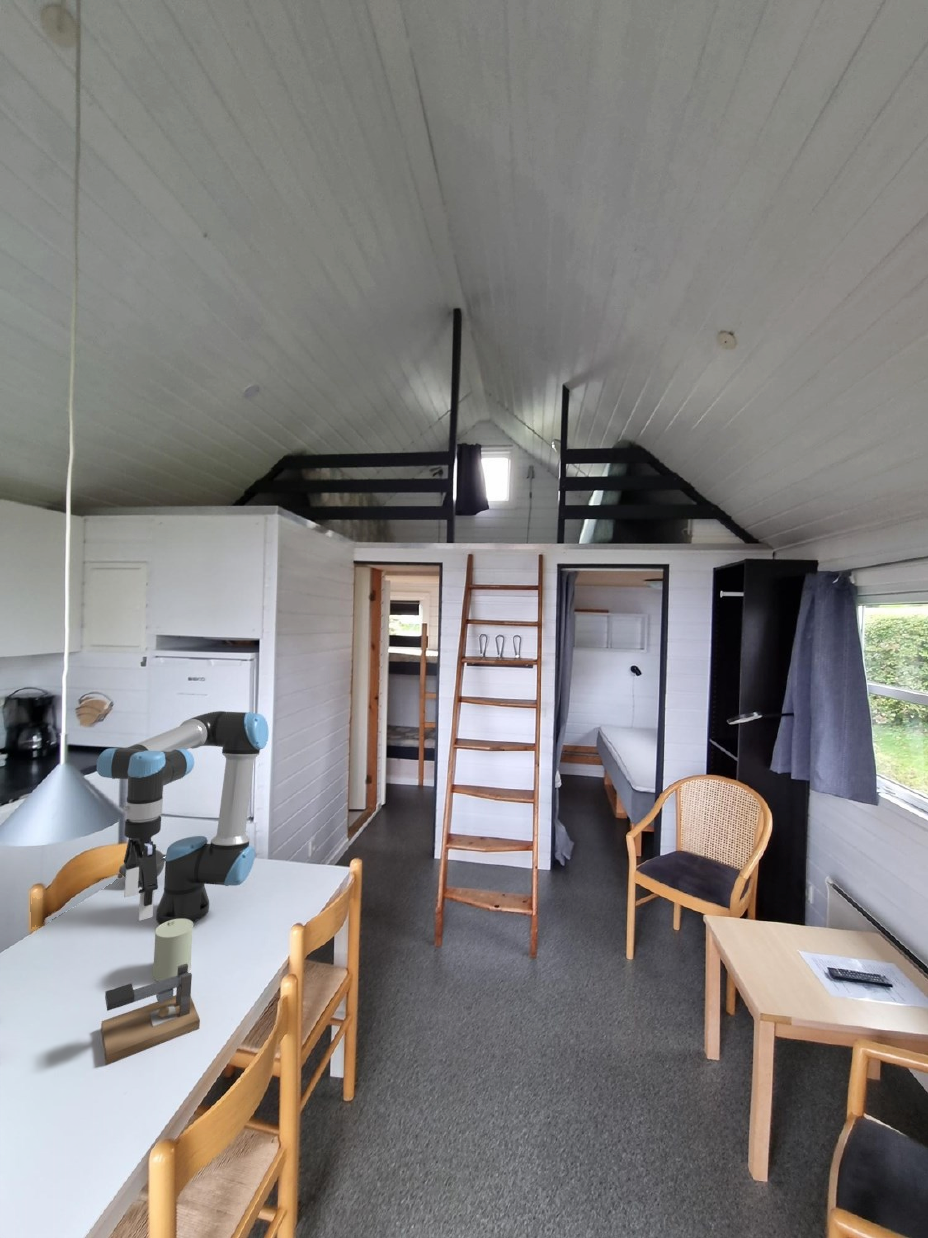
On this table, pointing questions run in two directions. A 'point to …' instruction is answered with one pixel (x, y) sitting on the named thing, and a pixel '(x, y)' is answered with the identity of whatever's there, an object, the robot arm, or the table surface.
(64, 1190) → the table surface
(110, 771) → the robot arm
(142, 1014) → the base
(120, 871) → the piggy bank
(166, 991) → the lever
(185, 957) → the can
